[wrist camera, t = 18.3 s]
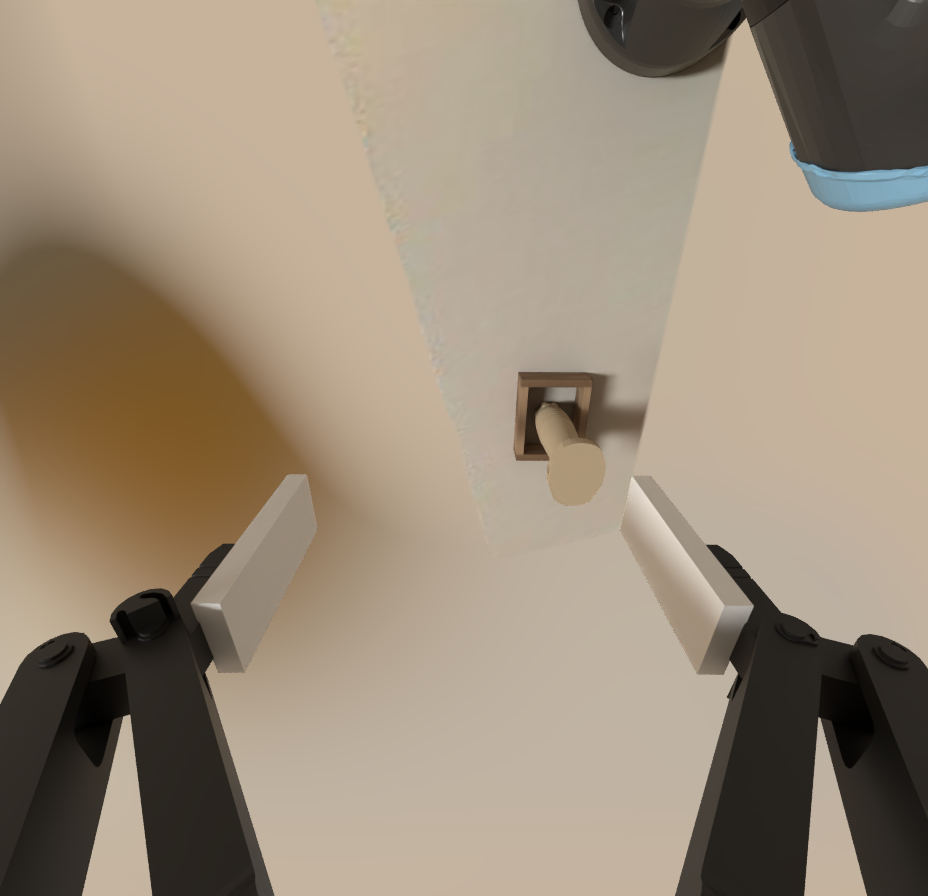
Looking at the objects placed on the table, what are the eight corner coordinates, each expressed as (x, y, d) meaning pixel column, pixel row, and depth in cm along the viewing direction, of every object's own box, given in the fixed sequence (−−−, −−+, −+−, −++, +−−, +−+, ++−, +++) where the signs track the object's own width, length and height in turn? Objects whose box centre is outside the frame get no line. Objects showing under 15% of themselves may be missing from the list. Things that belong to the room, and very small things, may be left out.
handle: (571, 388, 49) (611, 444, 35) (562, 438, 52) (596, 506, 38) (530, 386, 49) (555, 441, 35) (524, 435, 52) (544, 504, 38)
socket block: (518, 372, 48) (521, 380, 45) (585, 372, 48) (592, 380, 45) (513, 449, 52) (516, 460, 50) (574, 449, 52) (581, 460, 50)
